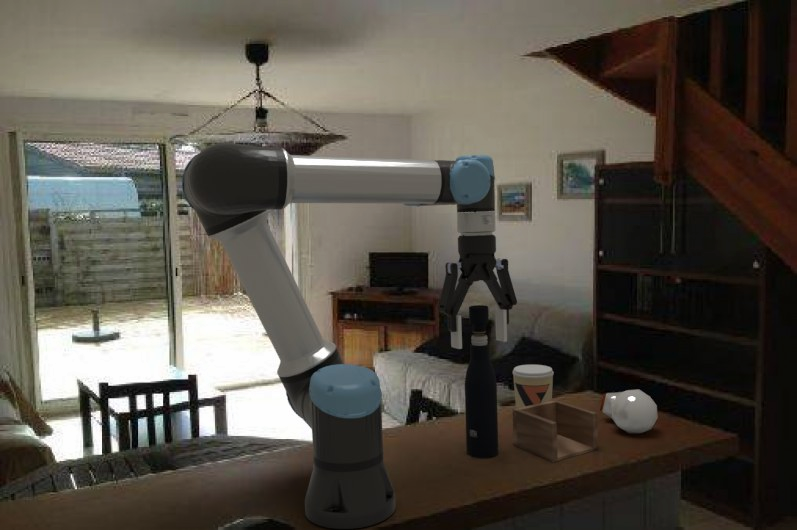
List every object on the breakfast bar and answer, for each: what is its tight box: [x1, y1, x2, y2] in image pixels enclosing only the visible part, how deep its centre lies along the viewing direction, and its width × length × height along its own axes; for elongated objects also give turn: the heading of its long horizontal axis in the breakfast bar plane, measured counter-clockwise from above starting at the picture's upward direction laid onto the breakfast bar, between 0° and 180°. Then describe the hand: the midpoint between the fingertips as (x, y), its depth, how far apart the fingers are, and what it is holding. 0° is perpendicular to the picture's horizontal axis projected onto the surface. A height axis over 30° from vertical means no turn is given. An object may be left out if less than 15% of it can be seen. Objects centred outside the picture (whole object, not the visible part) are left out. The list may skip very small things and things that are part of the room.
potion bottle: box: [599, 389, 659, 434], centre depth 151 cm, size 9×10×15 cm
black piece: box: [464, 304, 499, 459], centre depth 138 cm, size 6×6×30 cm
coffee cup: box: [512, 364, 555, 409], centre depth 160 cm, size 9×9×12 cm
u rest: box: [512, 399, 599, 463], centre depth 141 cm, size 12×12×8 cm
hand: (479, 344), depth 138 cm, fingers open, 10 cm apart
